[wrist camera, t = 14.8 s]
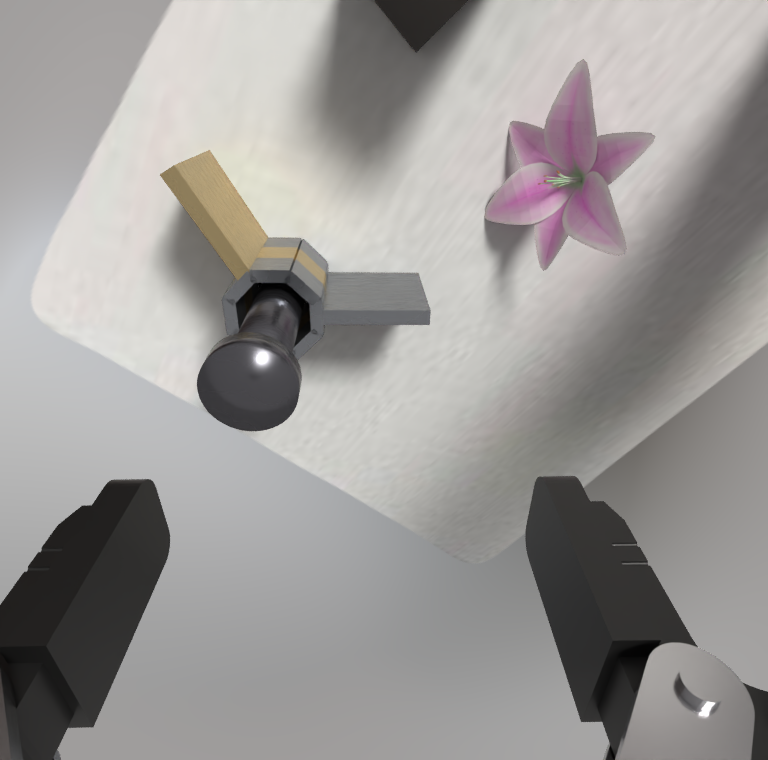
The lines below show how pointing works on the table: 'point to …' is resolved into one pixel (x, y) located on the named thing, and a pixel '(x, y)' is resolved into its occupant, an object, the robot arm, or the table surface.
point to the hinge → (287, 263)
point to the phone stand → (419, 17)
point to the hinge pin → (256, 364)
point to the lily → (567, 175)
